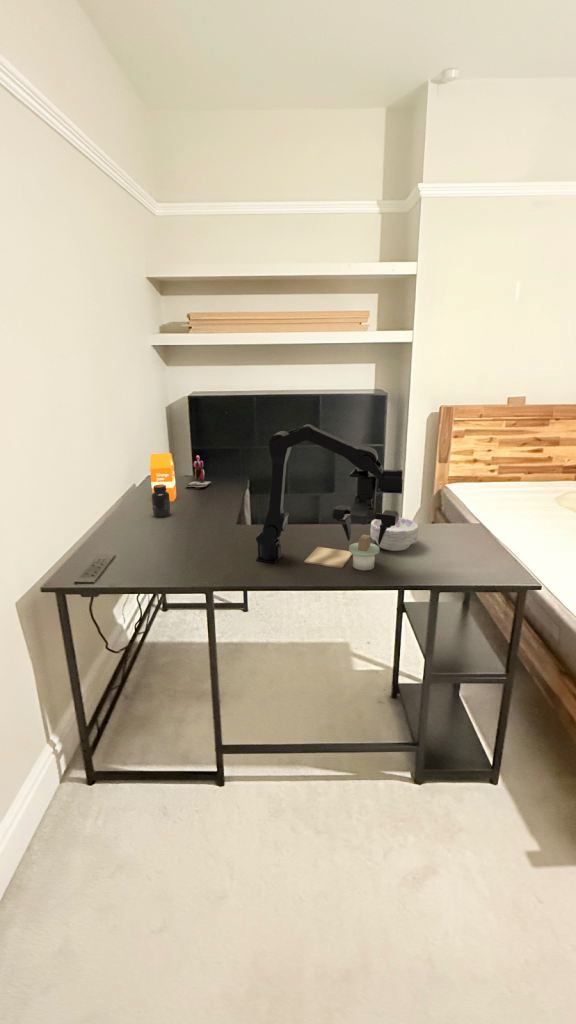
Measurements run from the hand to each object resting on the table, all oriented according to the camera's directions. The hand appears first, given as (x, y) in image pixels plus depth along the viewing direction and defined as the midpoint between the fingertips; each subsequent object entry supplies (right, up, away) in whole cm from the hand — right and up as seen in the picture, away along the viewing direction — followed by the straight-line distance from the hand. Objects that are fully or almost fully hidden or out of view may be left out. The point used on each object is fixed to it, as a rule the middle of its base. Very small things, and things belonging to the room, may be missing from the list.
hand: (364, 542), depth 156 cm
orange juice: (-76, +14, +72) cm, 105 cm away
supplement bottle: (-72, +8, +51) cm, 88 cm away
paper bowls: (+12, -2, +17) cm, 21 cm away
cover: (0, -3, +1) cm, 3 cm away
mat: (-10, -5, +8) cm, 14 cm away
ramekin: (0, -7, +2) cm, 8 cm away
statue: (-65, +21, +90) cm, 113 cm away
